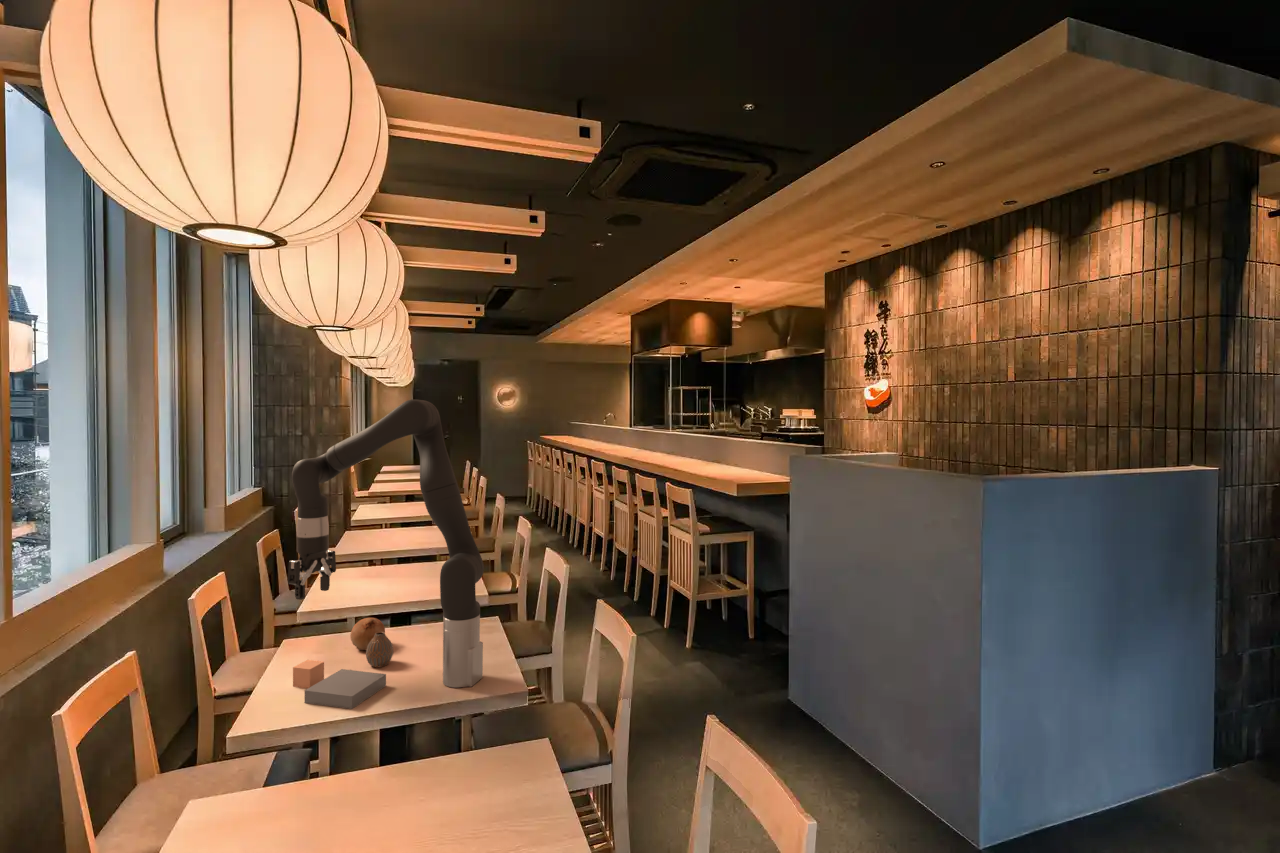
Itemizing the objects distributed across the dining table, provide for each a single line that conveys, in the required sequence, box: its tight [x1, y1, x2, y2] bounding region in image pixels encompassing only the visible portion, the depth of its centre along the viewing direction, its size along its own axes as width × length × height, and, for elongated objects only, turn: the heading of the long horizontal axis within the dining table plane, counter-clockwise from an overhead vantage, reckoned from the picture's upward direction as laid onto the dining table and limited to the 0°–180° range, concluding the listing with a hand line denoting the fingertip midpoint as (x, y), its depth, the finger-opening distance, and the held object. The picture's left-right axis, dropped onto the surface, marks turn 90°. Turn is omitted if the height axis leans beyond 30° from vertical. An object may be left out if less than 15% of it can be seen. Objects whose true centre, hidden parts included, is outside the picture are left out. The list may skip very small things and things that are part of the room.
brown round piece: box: [350, 617, 386, 651], centre depth 184 cm, size 10×9×10 cm
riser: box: [304, 668, 387, 710], centre depth 153 cm, size 13×13×3 cm
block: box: [292, 659, 325, 689], centre depth 159 cm, size 5×5×5 cm
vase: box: [365, 632, 394, 668], centre depth 171 cm, size 7×7×9 cm
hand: (312, 594), depth 163 cm, fingers open, 8 cm apart
